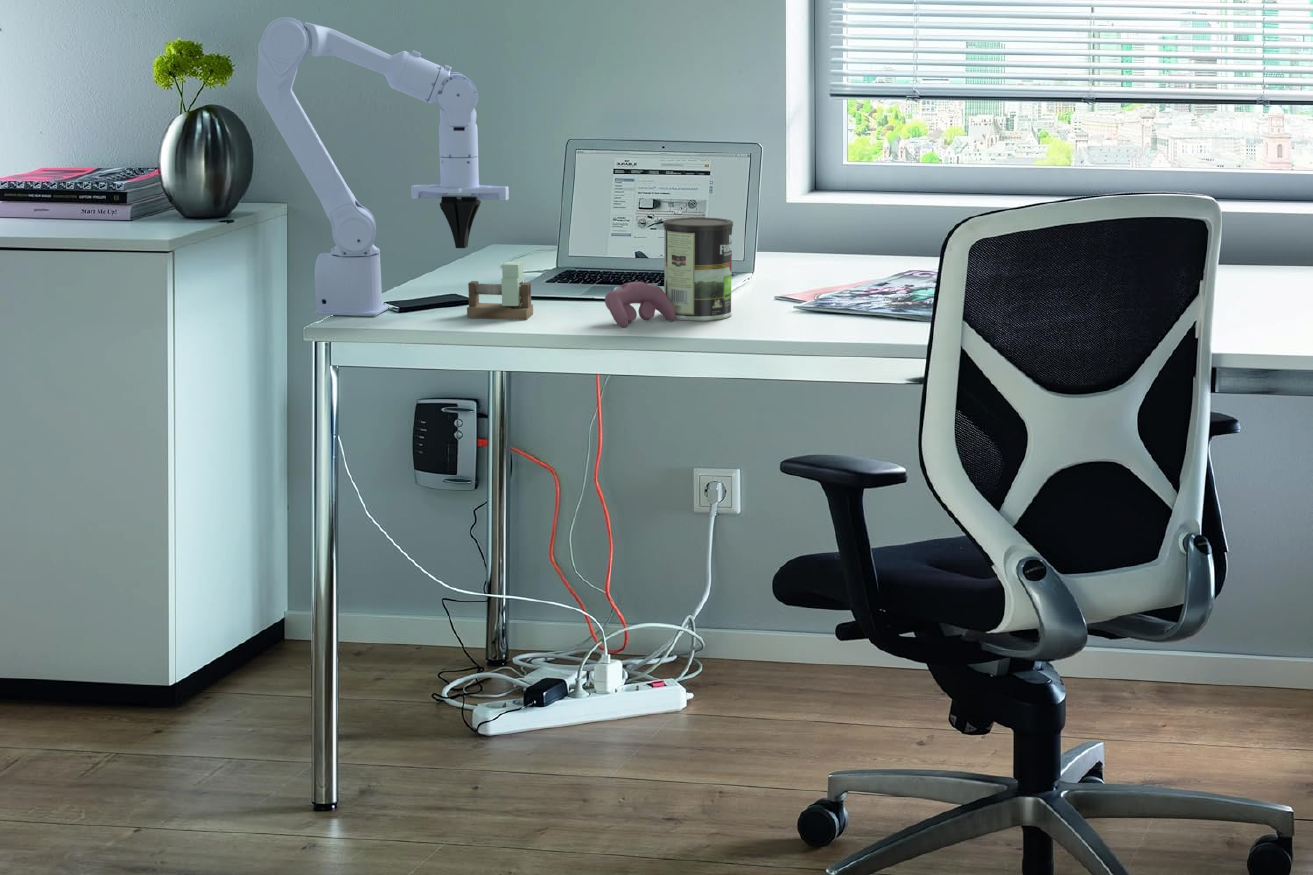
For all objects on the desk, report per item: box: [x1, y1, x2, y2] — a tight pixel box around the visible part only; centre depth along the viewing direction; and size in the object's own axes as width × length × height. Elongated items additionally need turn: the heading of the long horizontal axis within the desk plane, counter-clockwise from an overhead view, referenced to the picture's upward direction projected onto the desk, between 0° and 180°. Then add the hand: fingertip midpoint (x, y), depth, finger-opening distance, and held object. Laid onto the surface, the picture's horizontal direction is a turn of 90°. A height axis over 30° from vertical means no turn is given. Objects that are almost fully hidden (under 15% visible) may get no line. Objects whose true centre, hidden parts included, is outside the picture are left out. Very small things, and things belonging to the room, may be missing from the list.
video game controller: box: [604, 281, 676, 328], centre depth 227 cm, size 10×5×7 cm, turn 123°
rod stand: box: [466, 280, 534, 321], centre depth 231 cm, size 9×4×5 cm, turn 82°
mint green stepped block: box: [500, 261, 525, 306], centre depth 230 cm, size 2×4×6 cm, turn 172°
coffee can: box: [662, 216, 734, 322], centre depth 231 cm, size 10×10×14 cm
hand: (461, 247), depth 235 cm, fingers closed
